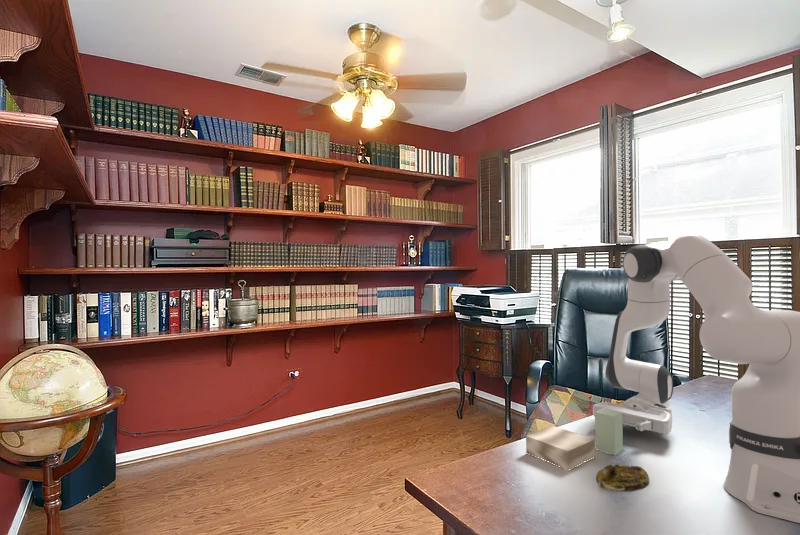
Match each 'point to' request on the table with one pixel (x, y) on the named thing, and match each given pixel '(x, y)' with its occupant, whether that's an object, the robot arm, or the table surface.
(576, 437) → the plinth
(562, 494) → the table surface
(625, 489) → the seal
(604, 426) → the green block
